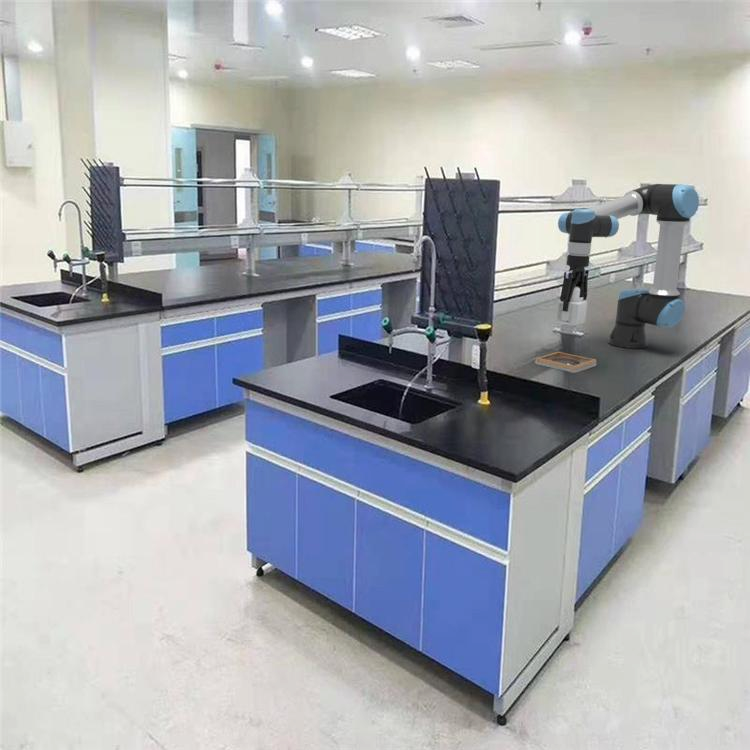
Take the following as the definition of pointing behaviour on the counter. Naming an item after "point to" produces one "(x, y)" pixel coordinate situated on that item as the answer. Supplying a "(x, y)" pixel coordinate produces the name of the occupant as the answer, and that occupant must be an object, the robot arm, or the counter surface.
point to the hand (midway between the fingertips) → (571, 318)
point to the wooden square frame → (566, 362)
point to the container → (575, 308)
